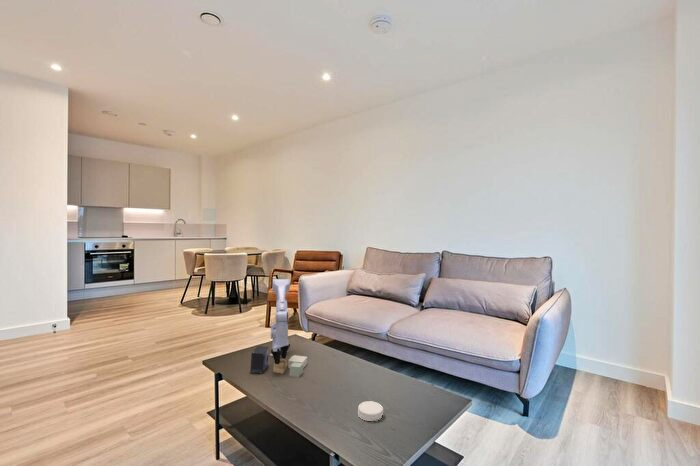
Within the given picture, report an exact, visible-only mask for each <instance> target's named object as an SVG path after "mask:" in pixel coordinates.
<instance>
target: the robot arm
mask: <svg viewBox="0 0 700 466" xmlns="http://www.w3.org/2000/svg"><path fill="white" fill-rule="evenodd" d="M290 288H291V279H289V278H273V279H272V293H274V294H275V295H276V302H275V303H276V306H275V307H276V309H275V310H276V312H275V318H274V319H275V322H273V323H272V324H271V326H270V339H271V340H272V348H271V350H270V353H269V354H268V357H269V356H270V357H272V358H273V360H274V362H275V364H279V363H280V359H282V360H286V358H287V354H288V353H289V349H290V347H291V343H289V338H288V337H289V325H288V322H289V319H290V317H289V316H290V314H289V313H290V312H289V309H288V301H287V299H286V294H288V293H289V291H290Z"/></svg>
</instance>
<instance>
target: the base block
mask: <svg viewBox="0 0 700 466" xmlns="http://www.w3.org/2000/svg"><path fill="white" fill-rule="evenodd" d="M294 362H296V363H303V369H304V368H305V367H306V366H307V364H308V356H303V355H295V354H294V355H292V356H291V357H290V358H289V359H288V360H287V368H288V369H290V366H291V365H292V364H293V363H294Z"/></svg>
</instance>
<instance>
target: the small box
mask: <svg viewBox="0 0 700 466" xmlns="http://www.w3.org/2000/svg"><path fill="white" fill-rule="evenodd" d="M269 349H270V347H269V346H265V345H263V346H262V345H257V346H256V347H255V348H254V349H253V351H252V352H251V357H250V370H249V371H250V373H249V374H257V375H258V374H259V375H263V373H264V372H265V370H266V369H267V368H268V366H269V351H270V350H269Z"/></svg>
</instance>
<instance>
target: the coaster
mask: <svg viewBox="0 0 700 466" xmlns="http://www.w3.org/2000/svg"><path fill="white" fill-rule="evenodd" d="M357 408H358V409H357V416H358V418H359V417H360V418H361V419H360V418H359V419H360V420H362V419H363V420H362V421H364V420H367V421H372V420H376V419H379V418H381V416H382V415H383V416H384V407H383V406H382V405H381V403H379V402H376V401H371V400H369V401H368V400H366V401H363V402H361V403H359V405H358V407H357Z"/></svg>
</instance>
